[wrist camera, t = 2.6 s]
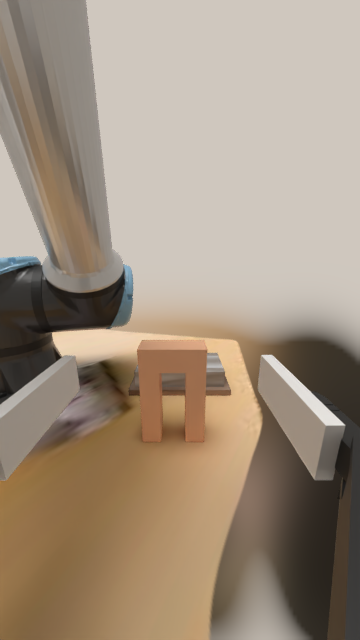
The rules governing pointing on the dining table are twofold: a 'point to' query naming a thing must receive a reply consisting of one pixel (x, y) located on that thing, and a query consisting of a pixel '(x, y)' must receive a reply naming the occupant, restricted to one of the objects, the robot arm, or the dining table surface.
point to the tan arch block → (151, 365)
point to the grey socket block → (176, 381)
